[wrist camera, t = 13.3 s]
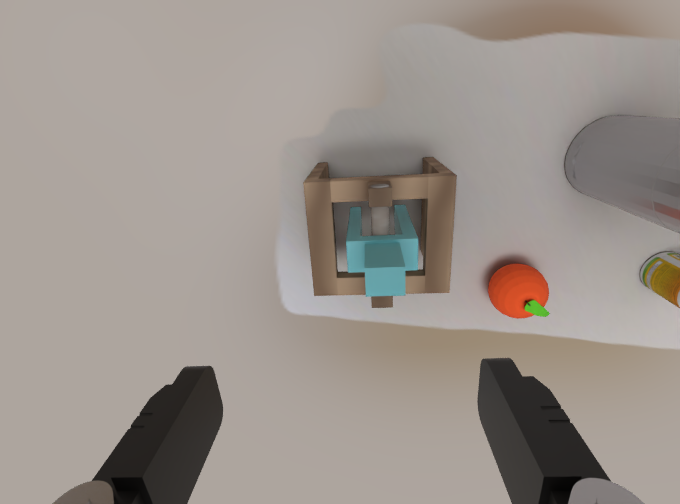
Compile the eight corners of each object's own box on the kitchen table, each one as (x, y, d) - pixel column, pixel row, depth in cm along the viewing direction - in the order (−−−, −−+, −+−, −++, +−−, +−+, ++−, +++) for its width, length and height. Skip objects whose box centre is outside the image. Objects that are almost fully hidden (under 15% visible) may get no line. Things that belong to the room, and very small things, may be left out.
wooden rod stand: (433, 157, 44) (465, 182, 30) (429, 249, 48) (456, 307, 35) (318, 163, 45) (298, 189, 31) (325, 252, 49) (310, 310, 36)
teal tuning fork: (404, 204, 41) (427, 262, 26) (404, 229, 43) (426, 298, 28) (350, 207, 42) (342, 265, 27) (352, 231, 43) (345, 300, 28)
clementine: (551, 275, 49) (580, 302, 42) (515, 312, 51) (538, 343, 45) (505, 245, 48) (527, 268, 41) (470, 285, 50) (486, 312, 44)
